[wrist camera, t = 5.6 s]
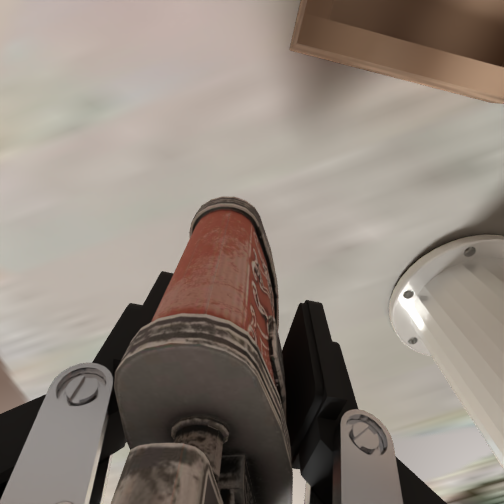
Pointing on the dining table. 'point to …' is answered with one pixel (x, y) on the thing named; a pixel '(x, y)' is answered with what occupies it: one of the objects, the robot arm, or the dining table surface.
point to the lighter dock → (411, 41)
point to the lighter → (209, 375)
